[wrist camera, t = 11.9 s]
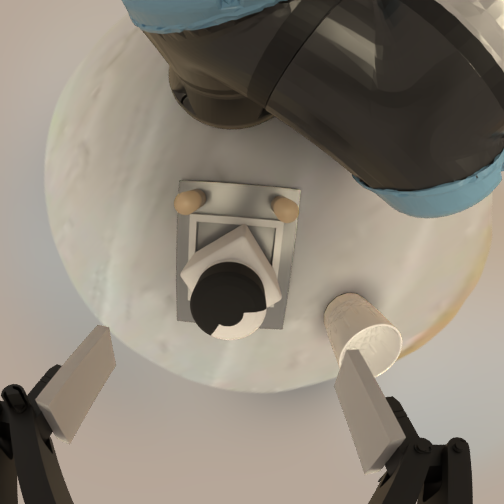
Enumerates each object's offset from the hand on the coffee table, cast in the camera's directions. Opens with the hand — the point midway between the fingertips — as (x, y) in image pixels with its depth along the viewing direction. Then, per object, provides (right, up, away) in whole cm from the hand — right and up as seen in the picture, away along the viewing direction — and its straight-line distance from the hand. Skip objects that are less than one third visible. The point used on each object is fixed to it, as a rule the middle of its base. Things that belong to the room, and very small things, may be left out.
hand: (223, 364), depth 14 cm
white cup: (+15, -3, +23) cm, 27 cm away
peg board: (-1, +5, +21) cm, 21 cm away
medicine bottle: (-1, +5, +19) cm, 19 cm away
